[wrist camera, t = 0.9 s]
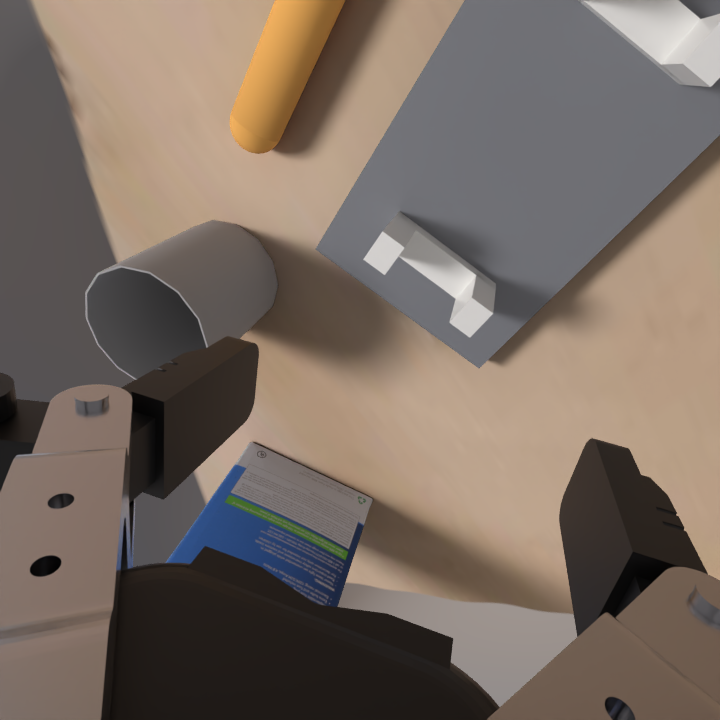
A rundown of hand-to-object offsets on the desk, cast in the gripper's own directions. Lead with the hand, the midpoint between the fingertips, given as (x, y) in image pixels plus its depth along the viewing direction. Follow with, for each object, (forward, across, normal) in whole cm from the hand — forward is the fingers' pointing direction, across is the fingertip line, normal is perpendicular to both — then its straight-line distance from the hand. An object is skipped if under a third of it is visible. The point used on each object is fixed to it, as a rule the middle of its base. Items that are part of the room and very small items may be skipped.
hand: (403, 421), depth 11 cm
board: (+21, -1, -7) cm, 22 cm away
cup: (+23, +18, +5) cm, 29 cm away
